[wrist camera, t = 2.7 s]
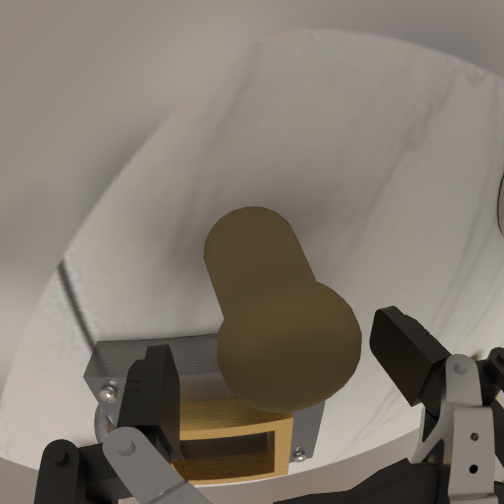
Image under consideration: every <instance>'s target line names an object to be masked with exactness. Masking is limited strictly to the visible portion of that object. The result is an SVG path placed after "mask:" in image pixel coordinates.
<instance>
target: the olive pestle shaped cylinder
mask: <svg viewBox="0 0 504 504" xmlns="http://www.w3.org/2000/svg"><path fill="white" fill-rule="evenodd" d="M204 260H205V263H206V266H207V269H208V272H209V275H210V278H211V281H212V284H213V287H214V290H215V293H216V296H217V299H218V301H219V304H220V307H221V310H222V313H223V316H224V321H223V323H222V325H221V327H220V330H219V333H218V336H217V364H218V367H219V369H220V371H221V374H222V376H223V378H224V380H225V383H226V385H227V387H228V389H229V390H230V391H231V392H232V393H234V394H235V395H236V396H237V397H238V398H239V399H240V400H242V401H243V402H244V403H245V404H247V405H248V406H250V407H252V408H255V409H258V410H260V411H264V412H273V413H285V412H294V411H299V410H302V409H305V408H309V407H312V406H315V405H316V404H318V403H320V402H322V401H324V400H326V399H328V398H330V397H331V396H332V395H334V394H335V393H336V392H337V391H339V390H340V389H341V388H342V387H343V386H344V385H345V384H346V383H347V382H348V380H349V379H350V378H351V377H352V375H353V374H354V372H355V370H356V368H357V365H358V363H359V360H360V355H361V341H362V333H361V330H360V327H359V324H358V321H357V319H356V317H355V315H354V312H353V310H352V308H351V307H350V306H349V305H348V303H347V302H346V301H345V300H344V299H343V298H342V297H341V296H339V295H338V294H337V293H336V292H335V291H334V290H332V289H331V288H329V287H328V286H326V285H324V284H321V283H319V282H316V279H315V277H314V275H313V273H312V270H311V268H310V266H309V264H308V261H307V259H306V257H305V255H304V253H303V250H302V248H301V246H300V244H299V242H298V240H297V237H296V235H295V233H294V232H293V230H292V228H291V226H290V224H289V223H288V222H287V221H286V220H285V219H284V218H283V217H281V216H280V215H279V214H278V213H276V212H273V211H271V210H268V209H266V208H261V207H246V208H242V209H238V210H234V211H232V212H230V213H229V214H227V215H226V216H224V217H222V218H221V219H220V220H219V221H218V222H217V223H216V224H215V225H214V227H213V228H212V229H211V230H210V232H209V235H208V237H207V240H206V242H205V250H204Z"/></svg>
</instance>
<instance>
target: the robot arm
mask: <svg viewBox="0 0 504 504" xmlns="http://www.w3.org/2000/svg"><path fill="white" fill-rule="evenodd" d="M499 225H500V229H501V231H502V233H503V235H504V179H503V182H502V186H501V191H500V197H499ZM369 343H370V349H371V351H372V353H373V355H374V356H375V357H376V359H377V360H378V361H379V363H380V364H381V366H382V367H383V368H384V370H385V371H386V372H387V374H388V375H389V376H390V378H391V379H392V380H393V382H394V383H395V385H396V386H397V387H398V389H399V390H400V392H401V393H402V394H403V396H404V397H405V398H406V400H407V401H408V403H409V404H410V406H411V407H413V406H415V405H417V404H419V403H421V402H422V403H423V405H424V406H423V408H422V412H421V421H420V430H419V438H418V444H417V449H416V452H415V454H414V456H413V458H412V460H411V463H410V462H409V461H408V459H407V458H405V459H403V460H400V461H399V462H397V463H394V464H392V465H390V466H388V467H385V468H383V469H381V470H379V471H377V472H376V473H374V474H373V475H372V476H370V477H369V478H367V479H366V480H364V481H363V482H361V483H360V484H358V485H357V486H355V487H354V488H352V489H350V490H347V491H341V492H331V493H320V494H308V495H304V496H301V497H296V498H292V499H287V500H283V501H278V502H274V503H273V504H504V478H503V480H502V482H498V481H494V466H495V460H494V459H495V456H494V455H496V456H497V458H498V459H499V461H500V462H501V464H502V466H503V467H504V409H503V407H502V406H501V405H500V403H499V402H498V401H497V400H496V397H497V395H498V394H499V392H500V391H501V390H502V391H503V392H504V348H501V347H497V348H494V349H492V350H491V352H490V354H489V356H488V358H487V359H485V360H480V361H475V362H474V360H473V359H471V358H470V357H468V356H466V355H463V354H454V355H451V354H450V353H449V352H448V351H447V350H446V349H445V348H444V347H443V346H442V345H441V344H440V343H439V342H438V341H437V340H436V339H435V338H434V337H433V336H432V335H430V333H429V332H428V331H427V330H426V329H424V327H423V326H422V325H421V324H420V323H419V322H418V321H417V320H415V319H413V318H412V317H410V316H408V315H404V314H403V313H402V312H401V311H400V310H399V309H398V308H397V307H395V306H390V307H386V308H382V309H378V310H377V311H376V312H375V316H374V321H373V326H372V330H371V335H370V341H369ZM171 461H180V381H179V375H178V372H177V369H176V365H175V362H174V359H173V356H172V352H171V349H170V346H169V344H156V345H148V346H147V350H146V355H145V359H140V360H136V361H135V362H134V363H133V364H132V366H131V367H130V368H129V370H128V374H127V378H126V383H125V388H124V392H123V397H122V402H121V407H120V412H119V417H118V423H117V427H116V429H115V430H113V431H111V432H110V433H109V434H108V435H107V436H106V437H105V439H104V441H103V442H102V443H99V444H95V445H90V446H85V447H80V448H77V447H76V446H75V445H74V444H73V443H72V442H70V441H68V440H64V439H59V440H55V441H53V442H51V443H49V444H48V445H47V446H46V448H45V449H44V451H43V455H42V459H41V464H40V469H39V475H38V480H37V487H36V493H35V500H34V504H118V500H119V499H124V498H129V497H135V499H136V500H137V501H138V503H139V504H213V503H212V502H211V501H209V500H208V499H207V498H206V497H205V496H204V495H203V494H202V493H201V492H199V491H198V490H197V489H196V488H195V487H194V486H193V485H192V484H191V483H189V482H188V481H187V480H185V479H184V478H183V477H181V476H180V475H179V474H178V472H177V471H176V470H175V469H174V468H173V467H172V466H171Z"/></svg>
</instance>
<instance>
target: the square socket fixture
mask: <svg viewBox="0 0 504 504" xmlns="http://www.w3.org/2000/svg"><path fill="white" fill-rule="evenodd" d="M217 336H218V334H211V335H201V336H191V337H179V338H166V339H151V340H133V341H105V342H97V344H96V346H95V349H94V351H93V353H92V356H91V358H90V361H89V363H88V366H87V368H86V371H85V373H84V376H83V377H84V379H85V381H86V383H87V384H88V386H89V388H90V390H91V391H92V393H93V395H94V396H95V398H96V399H97V401H98V403H99V404H98V406H97V409H96V412H95V420H94V426H95V434H96V438H97V441H98V444H99V443H102V442H103V441H104V439H105V437H106V436H107V435H108V434H109V433H110V432H111V431H113V430H115V429H116V427H117V423H118V417H119V412H120V407H121V402H122V397H123V392H124V388H125V383H126V378H127V374H128V370H129V368H130V367H131V366H132V364H133V363H134V362H135V361H136V360H140V359H145V355H146V350H147V346H148V345H156V344H169V346H170V349H171V352H172V356H173V359H174V362H175V365H176V369H177V372H178V375H179V381H180V461H171V466H172V467H173V468H174V469H175V470H176V471H177V472H178V474H179V475H180V476H181V477H183V478H184V479H185V480H187V481H188V482H189V483H191V484H192V485H205V484H221V483H233V482H242V481H250V480H257V479H264V478H270V477H276V476H281V475H286V474H288V466H289V463H290V462H302V461H304V460H306V459H308V458H312V456H313V452H314V448H315V444H316V440H317V436H318V432H319V428H320V424H321V419H322V415H323V410H324V405H325V400H324V401H322V402H320V403H318V404H316V405H315V406H312V407H309V408H305V409H302V410H299V411H294V412H285V413H273V412H264V411H260V410H258V409H255V408H252V407H250V406H248V405H247V404H245V403H244V402H243V401H242V400H240V399H239V398H238V397H237V396H236V395H235V394H234V393H232V392H231V391H230V390H229V389H228V387H227V385H226V383H225V380H224V378H223V376H222V374H221V371H220V369H219V367H218V364H217Z"/></svg>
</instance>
